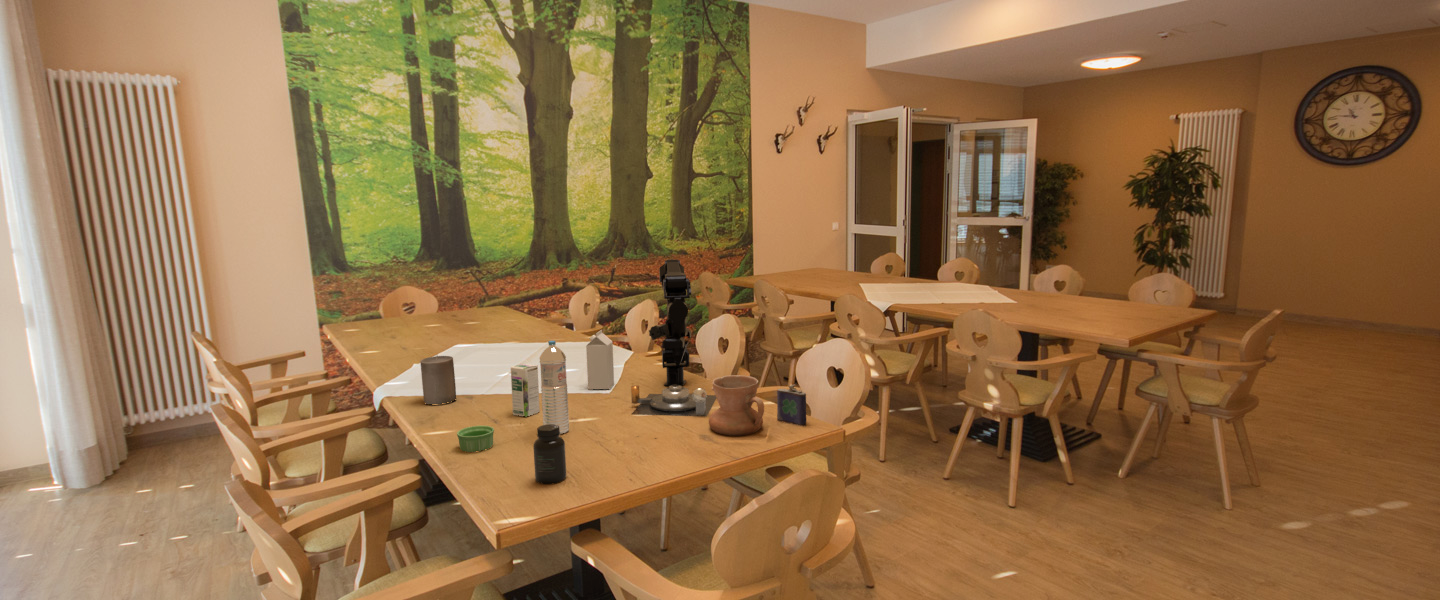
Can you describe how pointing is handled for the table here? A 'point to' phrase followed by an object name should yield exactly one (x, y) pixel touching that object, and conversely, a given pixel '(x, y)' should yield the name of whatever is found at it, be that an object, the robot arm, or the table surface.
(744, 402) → the ceramic jug
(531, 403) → the syrup box
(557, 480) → the supplement bottle
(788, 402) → the flask
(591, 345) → the milk carton
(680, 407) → the turntable
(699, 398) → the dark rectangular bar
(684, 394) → the cover
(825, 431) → the table surface
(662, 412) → the base plate
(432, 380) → the pillar candle
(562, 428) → the water bottle
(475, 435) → the ramekin
